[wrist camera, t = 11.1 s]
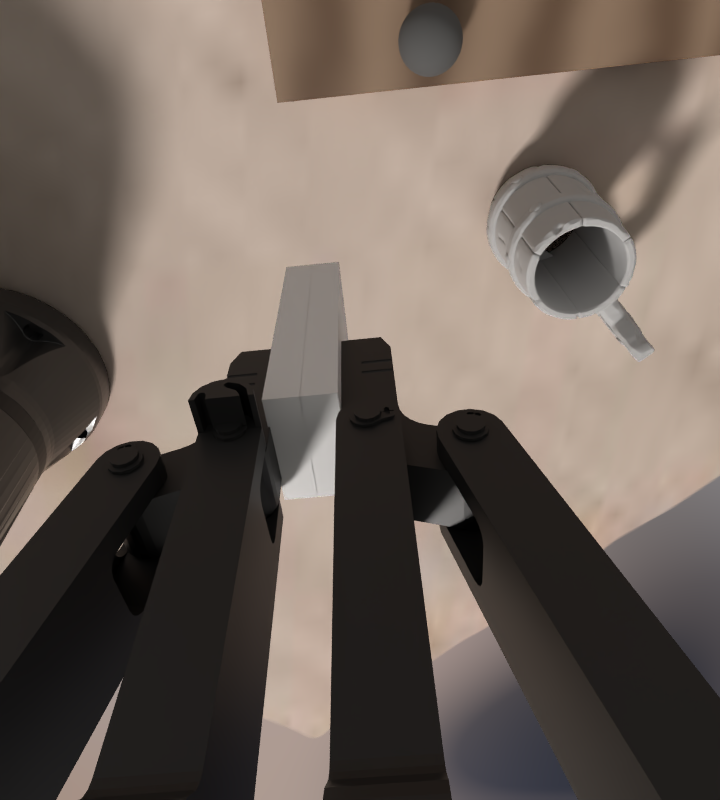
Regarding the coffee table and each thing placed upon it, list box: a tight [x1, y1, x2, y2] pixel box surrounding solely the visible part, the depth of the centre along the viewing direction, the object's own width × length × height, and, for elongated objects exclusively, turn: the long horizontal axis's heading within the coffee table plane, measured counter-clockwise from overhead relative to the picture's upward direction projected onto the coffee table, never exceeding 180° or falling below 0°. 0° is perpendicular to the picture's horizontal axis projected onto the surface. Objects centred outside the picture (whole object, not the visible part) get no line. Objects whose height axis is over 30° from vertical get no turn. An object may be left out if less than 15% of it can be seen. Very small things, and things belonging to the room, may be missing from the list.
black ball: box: [398, 2, 463, 77], centre depth 33 cm, size 4×4×4 cm
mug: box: [487, 165, 654, 362], centre depth 39 cm, size 8×12×12 cm, turn 43°
